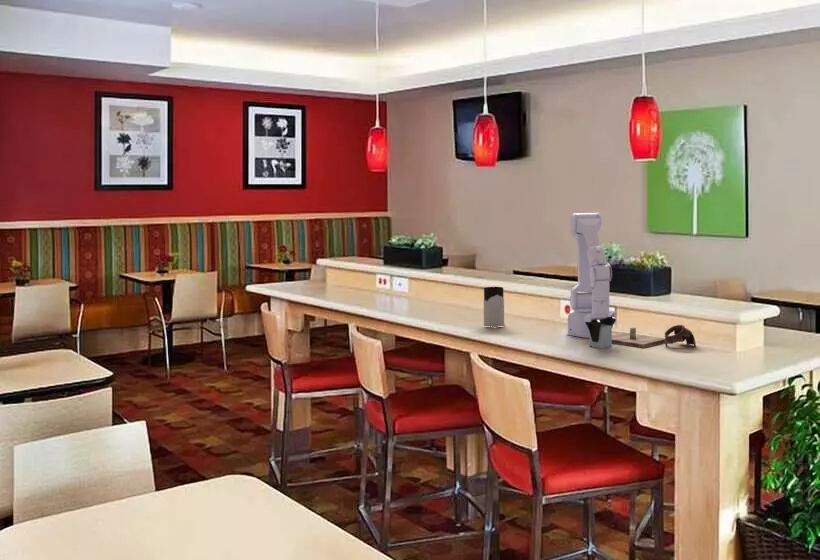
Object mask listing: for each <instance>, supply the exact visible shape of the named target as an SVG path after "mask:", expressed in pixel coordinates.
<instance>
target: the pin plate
mask: <svg viewBox="0 0 820 560" xmlns="http://www.w3.org/2000/svg"><path fill="white" fill-rule="evenodd" d="M612 344H615V345H616V344H617V345H622V346H629V347H636V348H641V349H644V348H645V349H646V348H648V347H653V346H657V345H661V344H665V337H657V336H652V335H651V336H650V335H645V334H637V328H636V327H630V328H629V332H624V331H623V332H618V333H614V334H613V333H612Z"/></svg>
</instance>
